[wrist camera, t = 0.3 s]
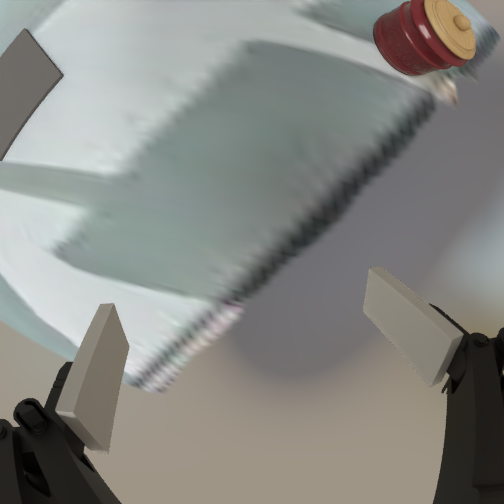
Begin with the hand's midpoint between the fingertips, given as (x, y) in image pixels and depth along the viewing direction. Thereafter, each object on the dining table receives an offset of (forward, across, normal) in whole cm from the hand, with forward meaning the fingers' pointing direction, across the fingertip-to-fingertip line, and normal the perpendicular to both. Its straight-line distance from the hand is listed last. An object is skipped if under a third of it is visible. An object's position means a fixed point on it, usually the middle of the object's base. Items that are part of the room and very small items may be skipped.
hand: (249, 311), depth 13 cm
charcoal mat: (+30, -35, +26) cm, 53 cm away
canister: (+28, +34, +28) cm, 52 cm away
